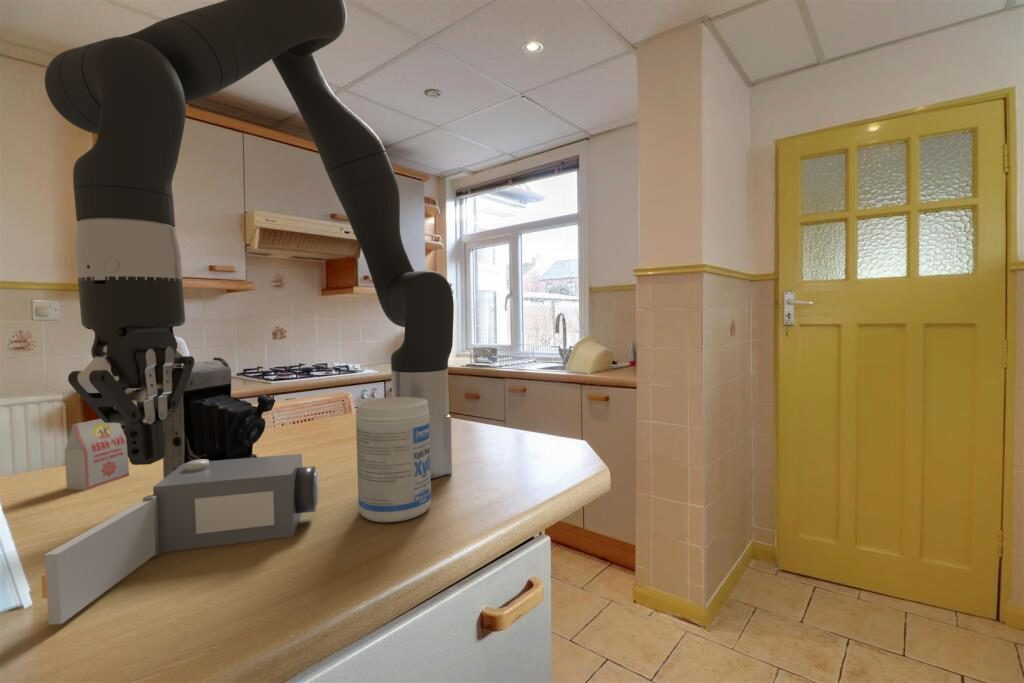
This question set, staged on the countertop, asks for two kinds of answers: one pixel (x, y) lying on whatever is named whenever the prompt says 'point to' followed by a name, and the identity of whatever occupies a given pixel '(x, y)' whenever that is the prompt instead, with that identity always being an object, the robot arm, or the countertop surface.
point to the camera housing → (233, 501)
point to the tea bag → (95, 454)
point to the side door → (99, 559)
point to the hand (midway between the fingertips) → (147, 462)
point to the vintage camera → (211, 419)
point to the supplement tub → (393, 458)
